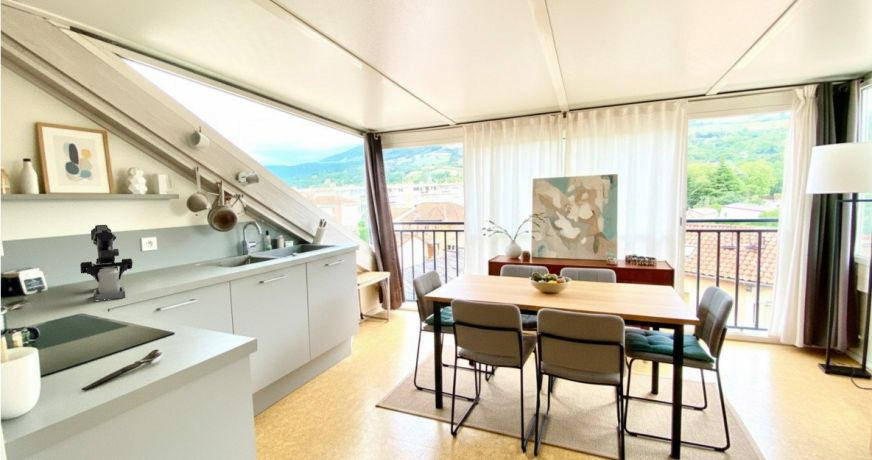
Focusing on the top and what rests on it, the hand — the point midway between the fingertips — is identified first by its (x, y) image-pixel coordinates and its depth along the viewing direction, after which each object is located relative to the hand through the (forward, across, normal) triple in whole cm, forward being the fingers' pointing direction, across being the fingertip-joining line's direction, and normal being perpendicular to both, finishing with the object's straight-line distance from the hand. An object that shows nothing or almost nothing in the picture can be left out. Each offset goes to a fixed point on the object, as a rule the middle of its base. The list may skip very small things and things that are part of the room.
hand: (108, 280), depth 179 cm
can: (+4, 0, +6) cm, 7 cm away
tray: (+5, 0, +7) cm, 8 cm away
